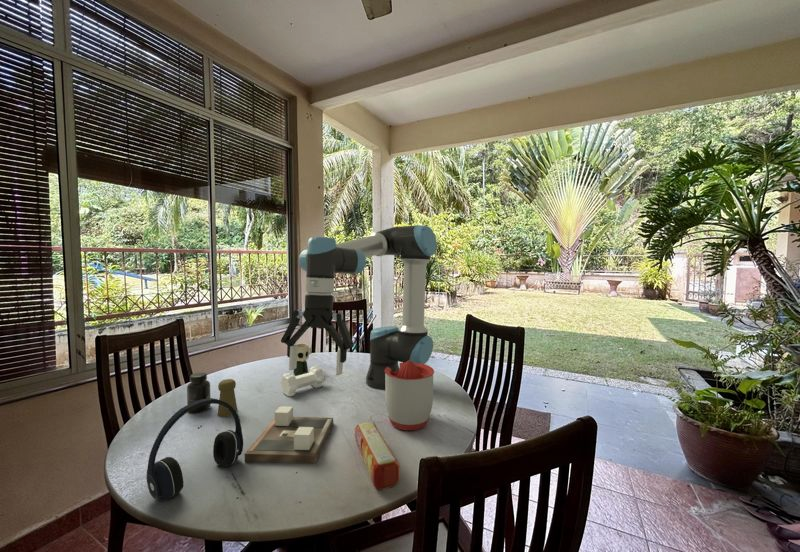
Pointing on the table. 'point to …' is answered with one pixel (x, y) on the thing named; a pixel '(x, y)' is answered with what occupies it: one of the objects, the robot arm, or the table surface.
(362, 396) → the table surface
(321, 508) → the table surface
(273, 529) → the table surface
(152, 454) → the headphones
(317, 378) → the bone shaped toy
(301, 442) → the cream cube
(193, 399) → the supplement bottle
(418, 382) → the citrus juicer
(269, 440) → the brown wooden tray
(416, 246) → the robot arm
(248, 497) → the table surface
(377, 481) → the snack package
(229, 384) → the cork
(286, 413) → the tab far
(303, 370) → the character mug
